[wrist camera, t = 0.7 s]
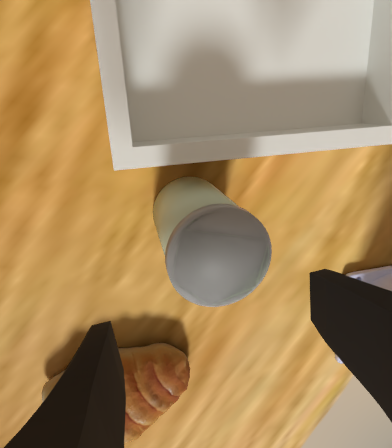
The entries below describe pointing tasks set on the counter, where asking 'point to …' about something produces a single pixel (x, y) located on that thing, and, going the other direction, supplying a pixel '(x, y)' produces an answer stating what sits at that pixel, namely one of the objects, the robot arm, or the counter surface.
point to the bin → (242, 77)
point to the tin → (209, 243)
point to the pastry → (147, 384)
